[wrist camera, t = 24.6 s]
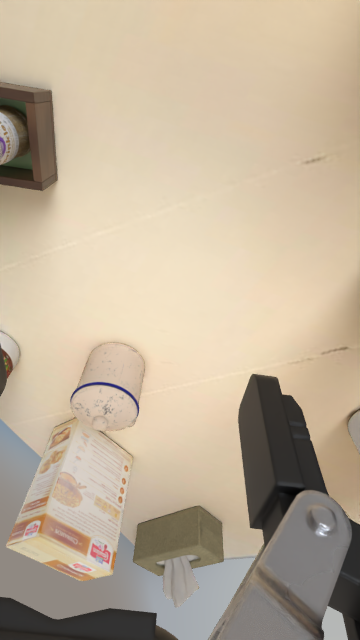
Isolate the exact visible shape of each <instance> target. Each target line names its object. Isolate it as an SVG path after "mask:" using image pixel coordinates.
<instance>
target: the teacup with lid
mask: <svg viewBox="0 0 360 640" xmlns="http://www.w3.org/2000/svg"><path fill="white" fill-rule="evenodd" d="M144 372H145V363H144V360H143V358H142V357H141V355H140V354H139V353H138V352H137V351H136V350H134V349H133V348H131V347H129V346H127V345H124V344H120V343H106V344H103V345H100V346H98V347H96V348H95V349H94V350H93V351H92V352H91V354H90V356H89V358H88V361H87V363H86V366H85V368H84V371H83V373H82V376H81V379H80V381H79V384H78V386H77V389H76V390H75V391H74V392H73V394H72V396H71V409H72V412H73V414H74V415H75V417H76V418H77V419H78V420H79V421H80V422H82V423H83V424H85V425H86V426H88V427H91V428H93V429H95V430H98V431H117V430H121V429H124V428H126V427H131V426H133V425H134V424H135V421H136V418H137V416H138V413H139V405H138V404H139V398H140V393H141V388H142V382H143V377H144Z"/></svg>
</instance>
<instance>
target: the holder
mask: <svg viewBox="0 0 360 640" xmlns="http://www.w3.org/2000/svg"><path fill="white" fill-rule="evenodd" d="M2 105H7V106H11V107H13V108H15V109H16V110H18V111H20V112H21V113H22V114H23V115H24V116H25V117H26V118H27V122H28V131H29V141H30V151H29V152H28V153H27V154H26V155H24V156H22V157H16V158H14V159H12V160H11V161H9V162H7V163H4V164H2V165H0V184H2V185H8V186H15V187H21V188H28V189H34V190H40V191H43V190H44V189H46V188H47V187H48V186H50V185H51V184H53V183H54V182H55V181H57V166H56V152H55V137H54V122H53V108H52V93H51V91H50V90H44V89H38V88H32V87H26V86H20V85H14V84H8V83H3V82H0V106H2Z"/></svg>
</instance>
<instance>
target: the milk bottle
mask: <svg viewBox="0 0 360 640" xmlns="http://www.w3.org/2000/svg"><path fill="white" fill-rule="evenodd" d="M0 344H1V348H2V353H3V357H4V362H5V366H6V371H7V378H8V377H9V375H10V373H11V372H12V370H13V369H14V367H15V366H16V364H17V362H18V360H19V356H20V352H19V348H18V346H17V344H16V343H15V342H14V341H13V339H12V338H10V337H9V336H8V335H6V334H4V333H3V332H0Z"/></svg>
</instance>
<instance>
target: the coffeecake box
mask: <svg viewBox="0 0 360 640" xmlns="http://www.w3.org/2000/svg"><path fill="white" fill-rule="evenodd" d="M132 460H133V457H132V456H131V455H130V454H128V453H127V452H126V451H124V450H123V449H122V448H121V447H119V446H118V445H117V444H116V443H114V442H113V441H112V440H110V439H109V438H108V437H107V436H105V435H104V434H103V433H101V432H100V431H98V430H95V429H93V428H91V427H88V426H86V425H85V424H83V423H82V422H80V421H79V420H78V419H77V418H75V419H73V420H71V421H69V422H66V423H64V424H61V425H59V426H57V427H55V428H54V430H53V433H52V435H51V437H50V440H49V442H48V445H47V447H46V450H45V452H44V454H43V457H42V459H41V462H40V464H39V467H38V469H37V472H36V474H35V476H34V479H33V481H32V484H31V486H30V489H29V491H28V493H27V496H26V498H25V501H24V503H23V506H22V508H21V510H20V513H19V516H18V518H17V520H16V523H15V526H14V528H13V530H12V533H11V535H10V538H9V540H8V542H7V545H6V547H7V548H10V549H12V550H14V551H16V552H19V553H21V554H23V555H25V556H27V557H30V558H32V559H34V560H36V561H38V562H41V563H43V564H45V565H47V566H49V567H52V568H54V569H56V570H58V571H60V572H63V573H65V574H67V575H69V576H71V577H73V578H75V579H77V580H80V581H85V580H91V579H95V578H98V577H104V576H108V575H112V574H113V568H114V563H115V557H116V551H117V546H118V540H119V535H120V529H121V523H122V517H123V512H124V506H125V500H126V494H127V489H128V483H129V477H130V471H131V466H132Z"/></svg>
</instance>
